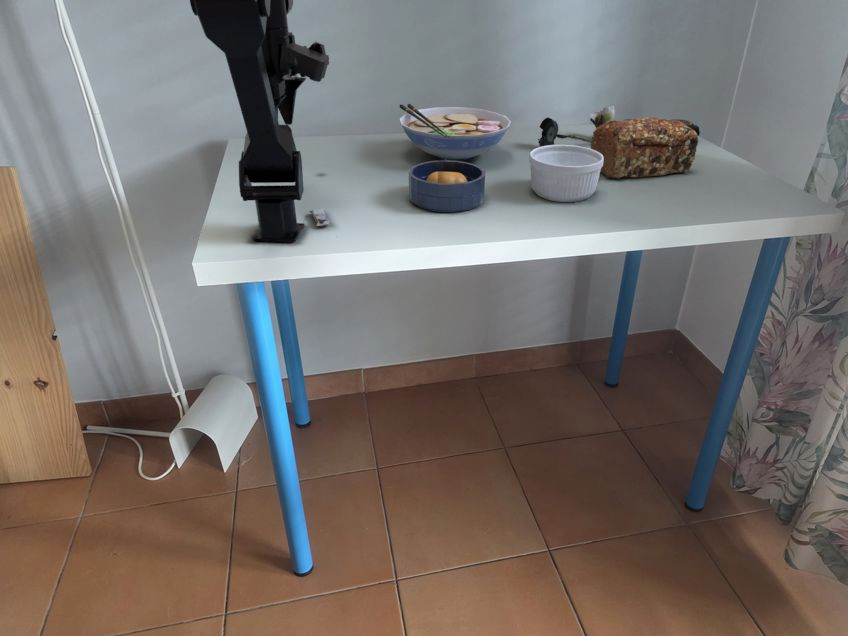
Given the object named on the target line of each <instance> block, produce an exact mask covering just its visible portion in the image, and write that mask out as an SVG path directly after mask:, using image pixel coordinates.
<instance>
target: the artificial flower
mask: <svg viewBox="0 0 848 636" xmlns="http://www.w3.org/2000/svg"><path fill="white" fill-rule="evenodd" d="M588 115H589V117H590V119H589V120H590V122H592V124H593V125H594V127H595V129H596V128H597V127H599V126H600V125H602V124H604V123H606V122H609V121H612V120H614V119H615V115H616V110H615V106H614V104H612V105H610V106H605V107H603V108H602V109H601V110H600V111H596V112H593V113H588ZM539 128H540V129H541V137H540V138H537V141H538V146H539V147H542V146H548V145H556V144H555V140H556V139H557V138H558V139H567V138H569V139H577V140H581V141H583V142H586V143H589V144H590V143H591V141H592V139H591V140H590V139H587V138H584V137H581V136H576V135H570V134H569V135H566V134H561V133H559V124H558V122H557V121H556V120H554V119H553V118H551V117H545V118H544V119H543V120H542V121H541V122H540V125H539Z"/></svg>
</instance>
